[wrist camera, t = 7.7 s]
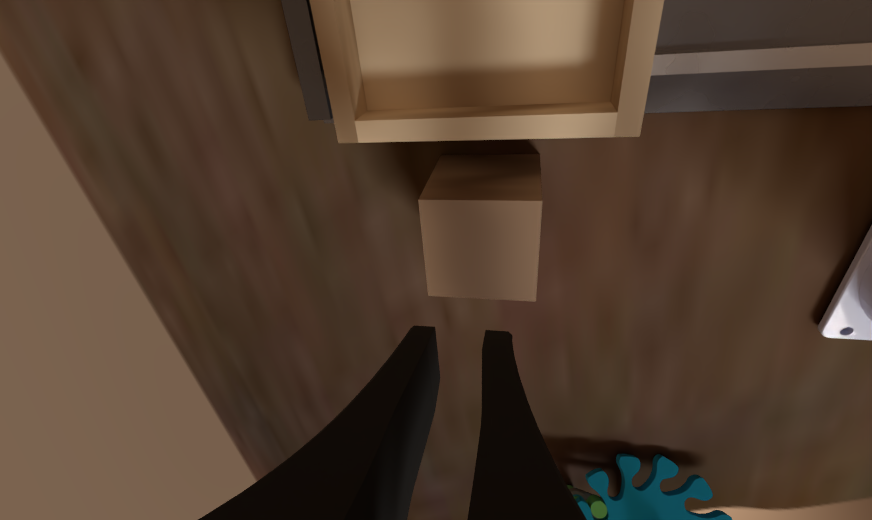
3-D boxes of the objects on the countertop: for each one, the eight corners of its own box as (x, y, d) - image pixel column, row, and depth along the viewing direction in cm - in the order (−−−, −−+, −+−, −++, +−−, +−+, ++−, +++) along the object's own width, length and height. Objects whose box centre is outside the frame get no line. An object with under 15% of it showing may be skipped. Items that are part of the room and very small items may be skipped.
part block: (539, 153, 19) (542, 201, 15) (534, 240, 22) (535, 301, 17) (441, 154, 20) (418, 199, 16) (446, 237, 22) (428, 295, 18)
